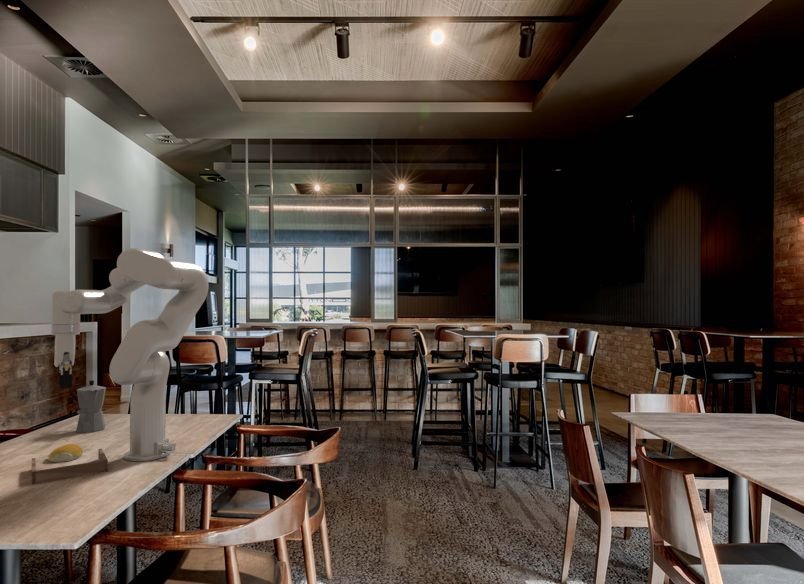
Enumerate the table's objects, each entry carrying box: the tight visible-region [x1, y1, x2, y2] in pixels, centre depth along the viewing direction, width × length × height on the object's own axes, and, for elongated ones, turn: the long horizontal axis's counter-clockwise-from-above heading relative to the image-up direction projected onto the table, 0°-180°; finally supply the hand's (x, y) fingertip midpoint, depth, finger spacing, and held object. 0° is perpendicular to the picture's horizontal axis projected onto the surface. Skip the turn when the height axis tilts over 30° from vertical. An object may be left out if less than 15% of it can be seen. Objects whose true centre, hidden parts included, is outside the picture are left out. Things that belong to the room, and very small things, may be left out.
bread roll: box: [48, 443, 84, 463], centre depth 152 cm, size 8×9×4 cm
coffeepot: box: [76, 379, 107, 434], centre depth 188 cm, size 15×9×18 cm, turn 44°
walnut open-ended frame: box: [31, 448, 109, 485], centre depth 139 cm, size 15×17×3 cm
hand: (65, 386), depth 161 cm, fingers open, 7 cm apart
